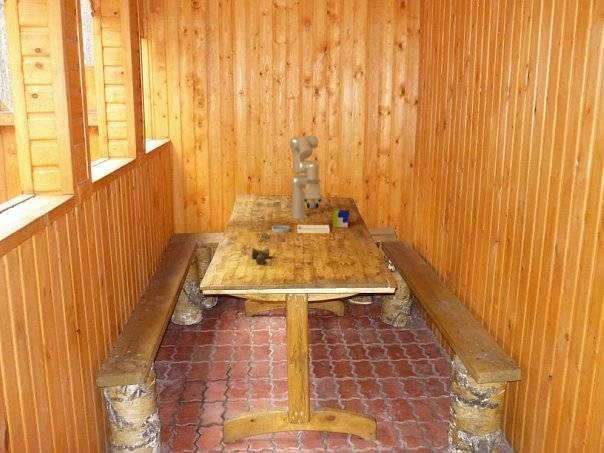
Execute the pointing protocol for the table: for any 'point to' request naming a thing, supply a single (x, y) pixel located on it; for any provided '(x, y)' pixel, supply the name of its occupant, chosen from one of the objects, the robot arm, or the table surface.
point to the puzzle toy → (341, 218)
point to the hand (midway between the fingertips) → (312, 208)
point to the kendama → (260, 256)
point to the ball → (312, 205)
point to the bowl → (280, 229)
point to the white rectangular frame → (313, 229)
